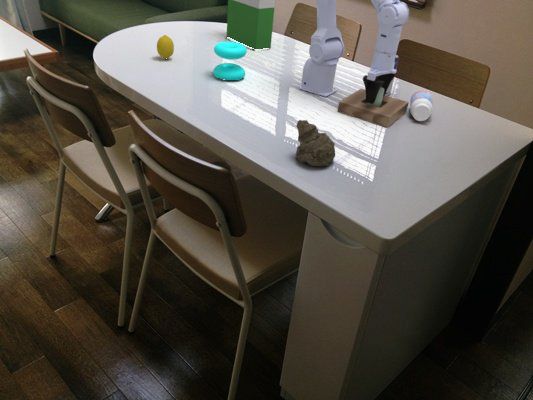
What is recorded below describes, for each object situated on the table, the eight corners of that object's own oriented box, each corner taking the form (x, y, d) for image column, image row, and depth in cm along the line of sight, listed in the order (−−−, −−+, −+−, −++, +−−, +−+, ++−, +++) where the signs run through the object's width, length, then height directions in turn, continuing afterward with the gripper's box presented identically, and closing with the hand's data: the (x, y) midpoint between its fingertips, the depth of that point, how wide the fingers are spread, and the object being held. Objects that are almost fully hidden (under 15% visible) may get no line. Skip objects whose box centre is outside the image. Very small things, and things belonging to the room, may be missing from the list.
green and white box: (226, 39, 192) (229, -28, 179) (241, 37, 196) (244, -29, 183) (255, 51, 181) (261, -19, 168) (270, 48, 185) (276, -20, 173)
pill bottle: (425, 85, 141) (426, 98, 132) (435, 102, 143) (437, 116, 134) (406, 96, 144) (405, 109, 135) (416, 113, 146) (416, 127, 137)
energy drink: (390, 97, 152) (399, 58, 145) (373, 94, 152) (381, 56, 146) (390, 91, 156) (398, 54, 150) (373, 89, 157) (381, 51, 150)
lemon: (177, 59, 165) (177, 35, 160) (166, 63, 161) (165, 38, 156) (165, 55, 167) (164, 31, 163) (153, 59, 163) (152, 34, 159)
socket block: (337, 111, 138) (339, 101, 136) (359, 97, 149) (361, 88, 147) (387, 127, 132) (389, 117, 130) (406, 111, 143) (408, 102, 141)
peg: (363, 112, 140) (368, 88, 136) (367, 108, 143) (372, 84, 139) (376, 115, 138) (381, 92, 134) (381, 111, 141) (386, 88, 137)
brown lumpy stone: (312, 118, 117) (280, 125, 111) (346, 107, 107) (312, 114, 102) (323, 164, 118) (291, 173, 112) (358, 158, 108) (324, 167, 103)
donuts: (221, 50, 144) (209, 41, 151) (219, 83, 149) (208, 72, 156) (252, 49, 148) (239, 39, 155) (249, 81, 153) (237, 70, 160)
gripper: (389, 59, 124) (378, 110, 131) (409, 49, 134) (397, 96, 142) (364, 53, 127) (354, 102, 134) (385, 43, 137) (375, 89, 145)
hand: (375, 99), depth 138 cm, fingers open, 7 cm apart
